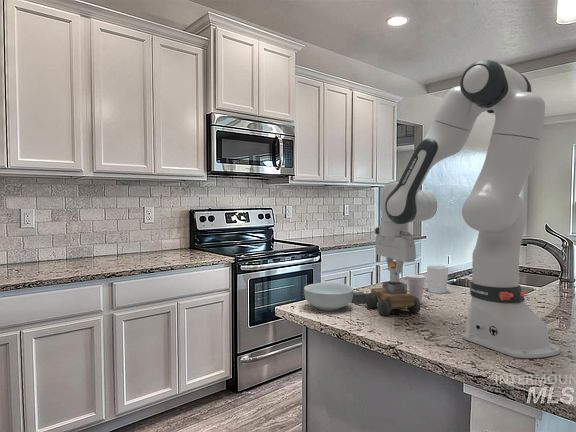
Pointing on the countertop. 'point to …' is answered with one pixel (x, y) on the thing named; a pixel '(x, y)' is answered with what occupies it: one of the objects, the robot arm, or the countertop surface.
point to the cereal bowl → (328, 295)
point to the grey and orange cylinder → (393, 273)
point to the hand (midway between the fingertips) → (394, 271)
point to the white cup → (437, 278)
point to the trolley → (392, 298)
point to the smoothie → (416, 284)
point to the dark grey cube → (358, 298)
